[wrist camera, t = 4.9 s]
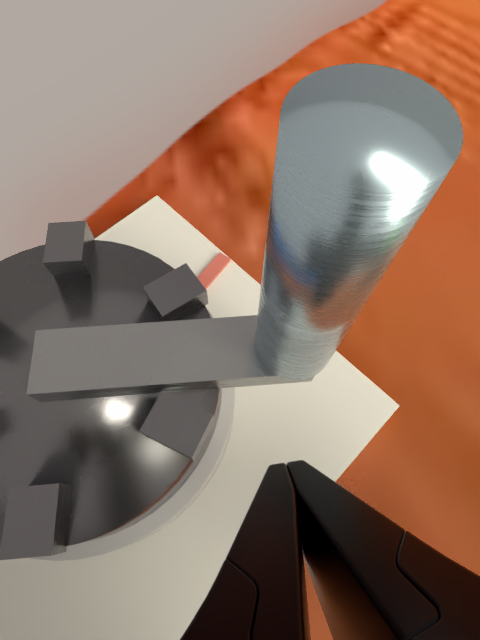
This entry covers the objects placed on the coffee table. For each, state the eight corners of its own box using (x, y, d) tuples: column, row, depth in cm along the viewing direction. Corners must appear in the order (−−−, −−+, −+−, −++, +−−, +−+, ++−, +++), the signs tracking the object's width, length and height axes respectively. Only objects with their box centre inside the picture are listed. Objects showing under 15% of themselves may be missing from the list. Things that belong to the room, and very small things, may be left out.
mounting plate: (391, 410, 19) (417, 394, 16) (72, 785, 14) (31, 854, 11) (159, 207, 24) (150, 168, 21) (-142, 421, 19) (-206, 406, 16)
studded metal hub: (-94, 562, 14) (-1333, 762, 3) (-28, 277, 18) (-401, -53, 8) (339, 522, 14) (658, 564, 4) (295, 257, 19) (373, -74, 8)
